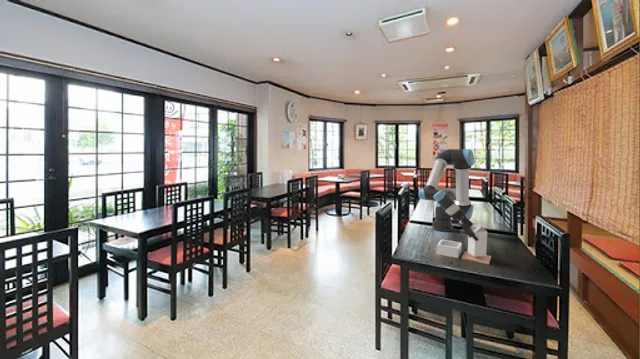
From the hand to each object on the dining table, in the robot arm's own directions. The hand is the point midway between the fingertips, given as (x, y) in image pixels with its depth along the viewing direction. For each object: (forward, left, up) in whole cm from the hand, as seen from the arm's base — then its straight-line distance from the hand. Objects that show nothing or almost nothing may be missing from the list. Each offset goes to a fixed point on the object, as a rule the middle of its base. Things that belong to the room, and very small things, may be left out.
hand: (483, 242), depth 165 cm
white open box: (0, -18, -11) cm, 21 cm away
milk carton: (0, -3, -8) cm, 9 cm away
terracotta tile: (0, -3, -11) cm, 11 cm away
